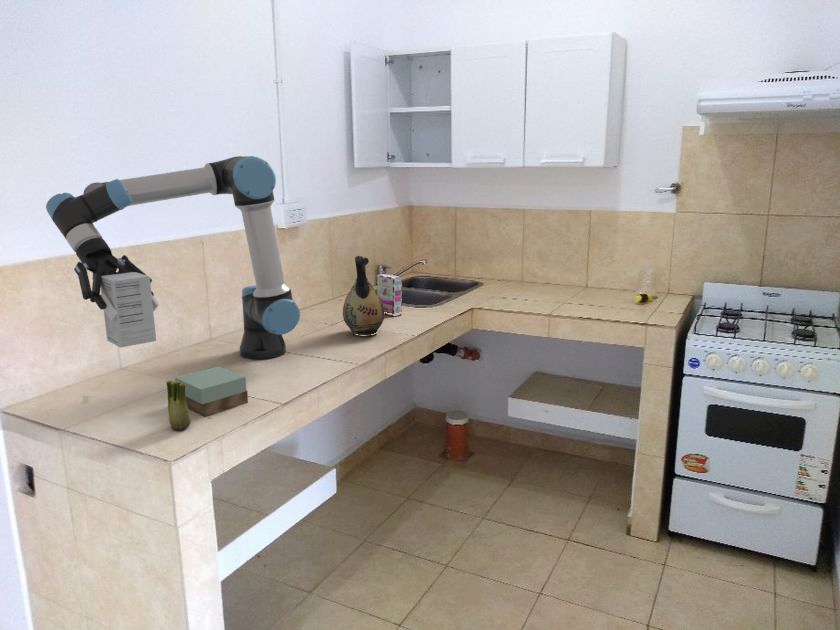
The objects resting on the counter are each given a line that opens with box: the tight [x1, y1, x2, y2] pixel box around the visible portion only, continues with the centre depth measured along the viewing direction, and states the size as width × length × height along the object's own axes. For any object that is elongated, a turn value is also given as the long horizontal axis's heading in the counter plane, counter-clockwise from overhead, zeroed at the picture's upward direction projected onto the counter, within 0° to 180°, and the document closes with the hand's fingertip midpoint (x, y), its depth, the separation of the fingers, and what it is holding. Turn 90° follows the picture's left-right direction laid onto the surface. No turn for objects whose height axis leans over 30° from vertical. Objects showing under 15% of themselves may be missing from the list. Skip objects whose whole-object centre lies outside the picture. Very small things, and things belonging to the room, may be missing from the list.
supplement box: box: [100, 272, 157, 349], centre depth 163 cm, size 10×9×17 cm
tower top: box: [174, 366, 247, 404], centre depth 172 cm, size 13×13×4 cm
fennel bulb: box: [166, 380, 192, 431], centre depth 156 cm, size 6×5×12 cm
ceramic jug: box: [342, 255, 385, 335], centre depth 238 cm, size 17×15×30 cm
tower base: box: [186, 389, 249, 418], centre depth 173 cm, size 13×13×4 cm
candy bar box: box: [376, 273, 403, 314], centre depth 271 cm, size 11×5×16 cm, turn 43°
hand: (135, 312), depth 161 cm, fingers closed on supplement box, 11 cm apart
